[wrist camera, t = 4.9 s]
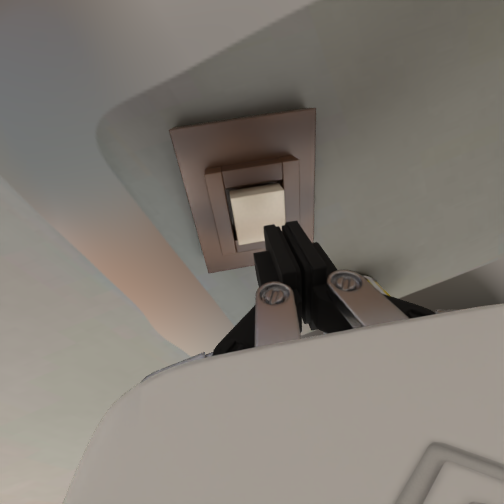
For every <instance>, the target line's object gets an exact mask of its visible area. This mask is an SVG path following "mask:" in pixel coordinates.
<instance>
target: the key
mask: <svg viewBox="0 0 504 504" xmlns="http://www.w3.org/2000/svg"><path fill="white" fill-rule="evenodd" d="M229 194H230V200H231V206H232V211H233V217H234V223H235V228H236V234H237V240H238V245H244V244H250V243H255V242H261V241H265V238H264V226H266V225H272V224H275V226H276V227H277V226H279V227H280V229H281V231H282V226H283V225H285V223H286V215H285V195H284V189H283V188H282V187H281V186H280V184H279V183H274V184H268V185H262V186H256V187H249V188H243V189H237V190H231V191H229Z"/></svg>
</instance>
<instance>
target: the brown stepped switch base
mask: <svg viewBox="0 0 504 504" xmlns="http://www.w3.org/2000/svg"><path fill="white" fill-rule="evenodd" d="M315 129H316V108H302V109H295V110H288V111H282V112H275V113H268V114H261V115H254V116H248V117H241V118H234V119H227V120H220V121H214V122H207V123H200V124H193V125H187V126H180V127H174V128H172V129H170V130H169V132H170V135H171V139H172V143H173V146H174V150H175V154H176V157H177V161H178V164H179V168H180V172H181V175H182V179H183V182H184V186H185V190H186V193H187V197H188V201H189V204H190V208H191V211H192V215H193V219H194V222H195V226H196V230H197V233H198V237H199V240H200V244H201V248H202V251H203V255H204V258H205V262H206V266H207V269H208V273H214V272H219V271H225V270H231V269H236V268H242V267H247V266H253V265H255V262H254V255H253V253H256V252H262V251H266V248H265V241H261V242H255V243H250V244H244V245H238V240H237V234H236V228H235V223H234V217H233V211H232V206H231V200H230V194H229V191H231V190H237V189H243V188H249V187H256V186H262V185H268V184H274V183H279V184H280V186H281V187H282V188H283V189H284V195H285V215H286V222H290V221H296V220H297V221H298V223H299V224H300V226H301V227H302V229H303V230H304V232H305V233H306V235H307V236H308V238H309V239H310V241H311V242H312V243H313V232H314V181H315Z"/></svg>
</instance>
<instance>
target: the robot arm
mask: <svg viewBox="0 0 504 504" xmlns="http://www.w3.org/2000/svg"><path fill="white" fill-rule="evenodd" d="M264 238H265V248H266V251H262V252H256V253H253V255H254V262H255V269H256V275H257V280H258V285H259V288H258V290H257V292H256V305H255V306H254V307H253V308H252V309H251V310H250V311H249V312H248V313H247V314H246V315H245V316H244V317H243V319H242V320H241V321H240V322H239V323H238V324H237V325H236V326H235V327H234V328H233V329H232V330H231V331H230V332H229V333H228V334H227V335H226V336H225V337H224V338H223V340H222V341H221V342H220V343H219V344H218V345H217V346H216V348H215V349H214V352H211V353H209V354H206V355H205V352H203V353H201V354H198V355H196V356H193V357H191V358H188V359H186V360H183V361H181V362H178V363H176V364H173V365H171V366H168V367H166V368H163V369H161V370H158V371H156V372H153V373H151V374H150V375H148V376H146V377H145V378H144V379H143V380H142V381H141V382H140V383H139V384H137V385H136V386H134V387H133V388H131V389H130V390H129V391H127V392H126V393H125V394H123V395H122V396H121V397H120V398H119V399H118V400H117V401H115V402H114V403H113V404H112V406H111V407H110V408H109V409H108V411H107V412H106V413H105V415H104V416H103V418H102V419H101V421H100V422H99V424H98V426H97V427H96V429H95V431H94V433H93V435H92V437H91V439H90V441H89V443H88V445H87V447H86V449H85V451H84V453H83V456H82V458H81V460H80V462H79V465H78V467H77V469H76V472H75V474H74V476H73V479H72V481H71V484H70V486H69V488H68V491H67V493H66V496H65V498H64V501H63V503H62V504H504V304H497V305H489V306H482V307H476V308H470V309H464V310H435V313H434V312H433V311H431V310H429V309H427V308H424V307H422V306H418V305H416V304H413V303H409V302H406V301H403V300H400V299H397V298H394V297H391V296H388V295H385V294H382V293H381V292H380V291H379V290H377V289H376V288H375V287H374V286H373V285H372V284H371V283H370V282H368V281H367V280H366V279H365V278H364V277H363V276H362V275H360V274H359V273H356V272H354V271H350V270H337V268H336V267H335V266H334V264H333V263H332V261H331V260H330V259H329V257H328V256H327V254H326V253H325V252H324V250H323V249H322V247H321V246H320V245H319V244H318V243H317V242H316V243H312V242H311V241H310V239H309V238H308V236H307V235H306V233H305V232H304V230H303V229H302V227H301V226H300V224H299V223H298V221H297V220H296V221H290V222H286V223H285V225H283V226H282V231H281V229H280V227H279V226H277V227H276V226H275V224H272V225H266V226H264ZM302 319H303V321H304V323H305V324H307V323H308V324H309V326H310V328H311V330H317V329H319V330H321V331H323V335H318V336H313V337H308V338H302V339H301V334H300V333H301V331H302Z"/></svg>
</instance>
